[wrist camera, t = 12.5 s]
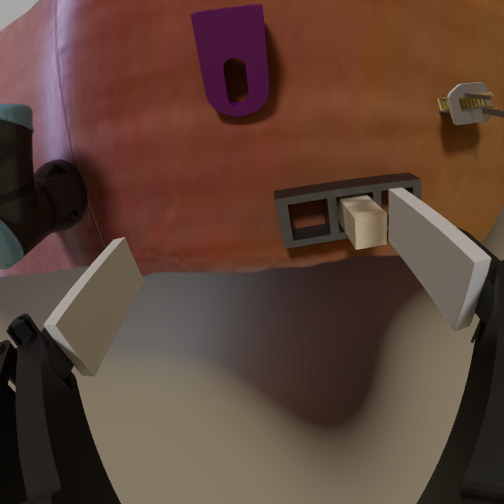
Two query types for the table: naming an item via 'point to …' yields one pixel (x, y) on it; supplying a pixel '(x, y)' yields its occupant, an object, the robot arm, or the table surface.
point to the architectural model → (469, 104)
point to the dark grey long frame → (335, 205)
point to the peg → (362, 220)
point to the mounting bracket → (232, 55)
